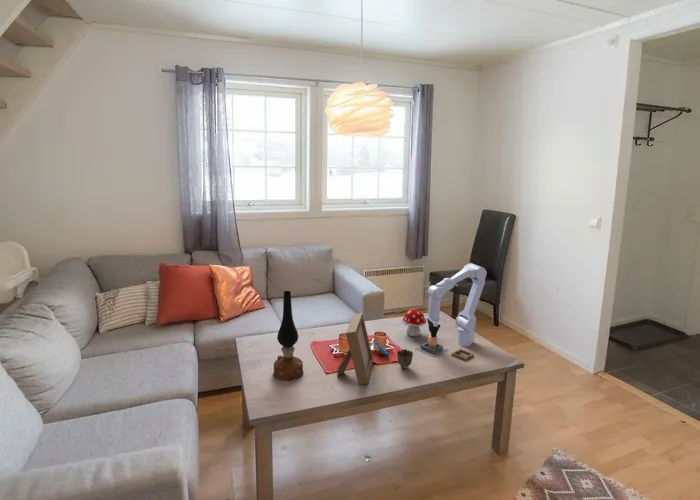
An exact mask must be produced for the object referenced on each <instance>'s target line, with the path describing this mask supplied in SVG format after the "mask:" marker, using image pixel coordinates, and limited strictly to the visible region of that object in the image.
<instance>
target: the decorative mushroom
mask: <svg viewBox="0 0 700 500" xmlns="http://www.w3.org/2000/svg"><path fill="white" fill-rule="evenodd" d="M401 323H402V324H403V325H405V326H407V327H406V331H405V332H406V334H407V336H408V337H412V338H413V337H414V338H417V337H419V336H420V335H421V328H420V327H423V326H425V325H426V324H427V319H426V318H425V315H424V313H423V312H422V311H421V310H420V309H417V308H410V309H407V311H405V313H404V316H403V317H402V318H401Z"/></svg>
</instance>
